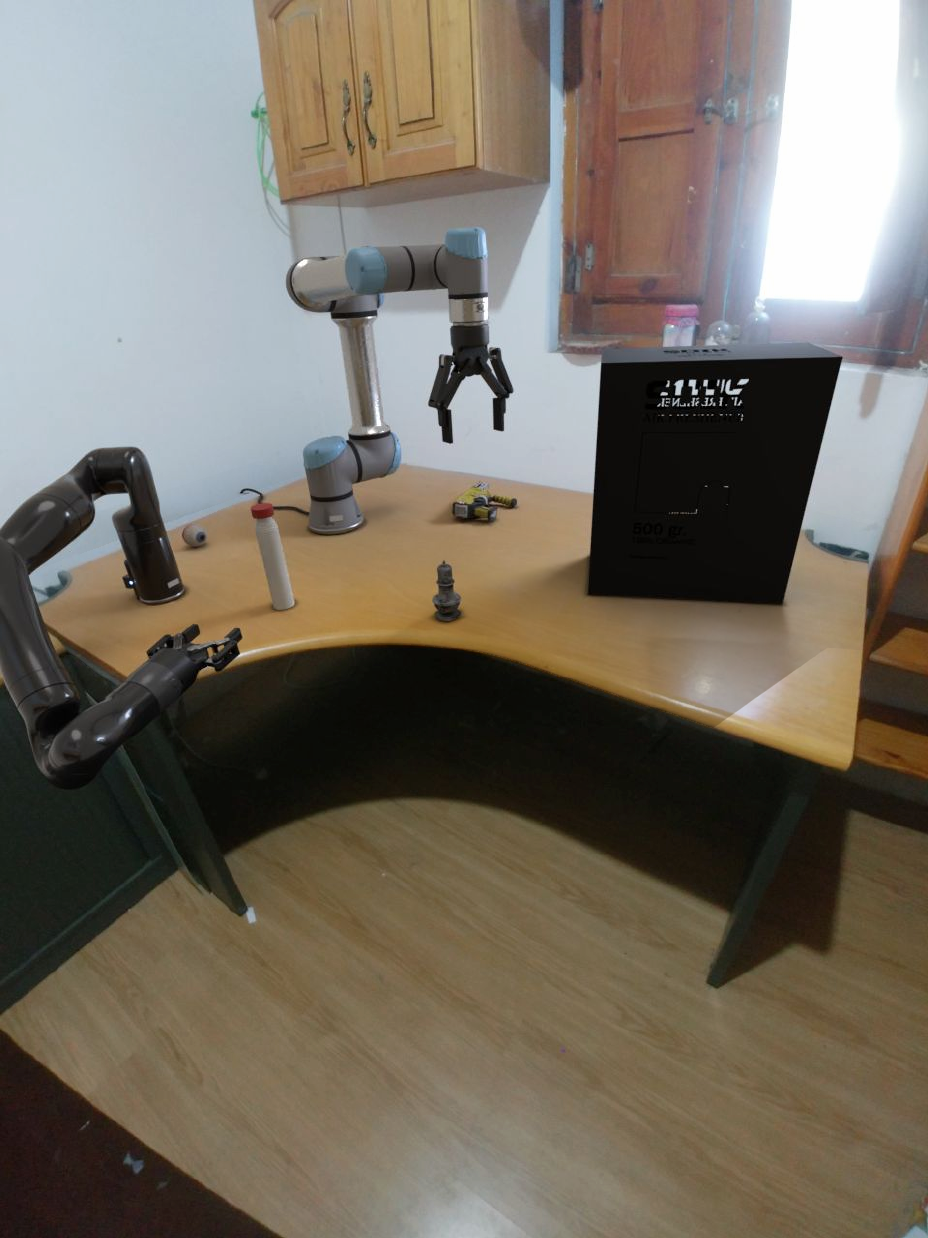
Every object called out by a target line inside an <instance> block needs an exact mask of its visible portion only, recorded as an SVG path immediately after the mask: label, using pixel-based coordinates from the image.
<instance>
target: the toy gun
mask: <svg viewBox="0 0 928 1238" xmlns="http://www.w3.org/2000/svg"><path fill="white" fill-rule="evenodd" d="M489 485H490V484H489V482H487V481H484V482H483V481H482V480H480V481H478V483H476V484H475V485H474V486H473V485H472V486H471V487H470V488H469V489H468V490H466V491H465V492H464V493H463V494H462V495H460V497H458V498H457V499H456V500H454V502H453V503H452V504H451V515H452V516H453V517H456V518H457V519H460V520H463V519H471V518H476V517H481V518H484V519H487V522H488V523H490V522H492V521H494V520H496V519H497V515H498V514H497V513H498V506H495V505H494V506H492V507H491V506H490V505H489V504H490V503H492V502H493V503H495V504H496V503H498V504H501V505H505V506H509V507H512V508H515V507H516V506H517V505H518V499H517V498H516V497H509V496H504V495H499V494H497V493H496V494H494V495H491V493H490V492H489V490H487V489H488V488H489Z"/></svg>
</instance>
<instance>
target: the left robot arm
mask: <svg viewBox="0 0 928 1238" xmlns="http://www.w3.org/2000/svg"><path fill="white" fill-rule="evenodd" d="M125 494H128V498H129V503H130V504H129V505H126V506H124V507H121V508H120V509H118V510H116V511H115V512H114V513H113V514H112V515H111V521H112V524H113V526H114V530H115V532H116V534H117V537H118V540H119V543H120V545H121V549H122V551H123V554H124V556H125V559H124V560H123V565H124V568H125V570H126V574H124V576H123V575H122V578H121V579H122V582H123V584H124V587H125V589H128V590H133V592H134V594H135V598H136V600H137V601H140V602H141V603H143V604H145V605H161V604H165V603H169V602H172V601H174V600H177V599H178V598H181V596H183V595H184V594H185V592H186V587H185V584H184V583H183V580H182V576H181V573H180V570H179V567H178V564H177V560H176V557H175V554H174V551H173V548H172V545H171V541H170V539H169V536H168V533H167V530H166V526H165V523H164V519H163V517H162V514H161V505H160V499H159V495H158V491H157V489H156V485H155V481H154V477H153V473H152V469H151V466H150V463H149V460H148V458H147V456H146V454H145V453H144V451H142V449H140V448H139V447H137V446H130V445H129V446H128V445H127V446H109V447H108V446H107V447H97V448H95V449H91V450H90V451H89V452H87V453H86V454H85V455H84V456H83V457H82V458H80V459H79V461H78V462H77V463H76V464H75V465H74V466H73V467H71V469H70V470H69V471H67V472H65V474H63V475H62V476H60V477H59V478H57V479H56V480H54V481H53V482H51V483H50V484H48V485H47V486H45V487H43V488H42V489H40V490H39V491H37V492H36V493H34V494H33V495H31V496H30V497H29V498H27V499H26V500H25V501H23V502H22V503H21V504H20V505H19V506H18V507H17V508H16V509H15V511H13V513H12V514H11V515H10V516H9V518H7V519H6V521H5V522H4V523H3V524H2V526H1V527H0V673H1V677H2V680H3V682H4V684H5V687H6V690H7V691H8V693H9V695H10V697H11V699H12V701H13V703H14V705H15V707H16V709H17V711H18V712H19V714H20V715H21V717H22V719H23V721H24V724H25V727H26V732H27V737H28V740H29V744H30V747H31V751H32V755H33V757H34V761H35V763H36V766H37V768H38V770H39V772H40V774H41V775H42V777H43V778H44V779H45V780H46V781H47V782H48V783H49V784H51V785H52V786H53V787H55V788H58V789H60V790H66V791H73V790H78V789H81V788H83V787H85V786H88V785H89V784H90V783H91V782H92V781H93V780H95V778H96V777H98V774H99V773H100V772H101V770H102V769H103V768H104V766H105V764H106V763H107V761H108V760H109V759H110V758H111V756H113V754H114V753H115V752H116V751H117V750H118V749H119V748H120V747H121V746H122V745H123V744H124V743H125V742H126V741H127V740H128V739H131V738H134V737H135V736H137V735H138V734H140V732H141V731H143V730H144V729H145V728H146V727H147V726H148V725H149V724H151V722H152V721H154V720H155V718H156V717H158V716H159V715H160V714H162V713H163V712H165V711H166V710H167V709H168V708H170V707H171V706H172V705H173V704H174V703H175V702H176V701H177V700H178V699H179V698H180V697H181V696H182V695H183V694H184V693H185V692H186V691H187V690H188V689H190V688H191V687H192V686H193V684H195V682H196V681H197V678H198V676H199V673H200V672H201V671H202V670H204V669H206V668H208V667H210V668H214V671H215V673H219V672H222V671H223V670H224V669H226V667H227V666H229V665H230V664H231V663H232V662H233V661H234V660H236V659H237V658H238V657H239V656H240V655H241V651H240V649H239V646H238V644H239V643H240V642H241V641H242V640H243V634H242V631H241V628H240V627H234V628H233V629H232V630H231V631H229V632H228V633H227V634H226V635H225V636H224V637H223V638H222V639H219V640H208V641H206V642H203V643H193V641H194V640H195V639H197V638H198V637H199V636H200V635H201V630H200V626H199V624H198V623H193V624H191V625H190V626H188V627H187V628H185V629H184V630H183V631H182V632H178V633H176V634H174V635H173V636H172V635H171V634H170V633H168V634H164V635H163V636H162V637H161V638H160V639H159V640H157V641H156V642H155V643H154V644H153V645H152V646H150V647H149V648H148V649H147V650H146V651H145V652H146V655H147V658H148V659H147V660H146V661H144V662H143V663H142V664H140V665H139V667H137V668H136V669H135V670H133V671H132V672H131V673H130V674H128V676H127V677H126V678H125V679H124V681H123V682H121V683H120V684H119V685H118V686H117V687H115V688H114V689H113V690H112V691H111V692H109V693H108V694H107V695H106V696H105V697H103V698H102V699H101V701H99V702H98V703H95V704H94V705H92V706H90V707H89V708H87V709H85V710H82V711H81V712H80V709H81V706H82V701H81V700H82V699H81V696H80V693H79V691H78V689H77V687H76V685H75V683H74V681H73V680H72V678H71V676H70V673H68V670H67V669H66V667H65V665H64V663H63V661H62V660H61V657H60V656H59V654H58V652H57V650H56V648H55V645H54V644H53V641H52V639H51V636H50V634H49V631H48V629H47V627H46V624H45V621H44V618H43V615H42V612H41V610H40V606H39V603H38V601H37V598H36V595H35V592H34V589H33V585H32V582H31V578H30V576H31V574H32V573H33V572H34V571H36V570H37V569H38V568H40V567H41V566H42V565H44V564H45V563H47V562H48V561H50V560H51V559H52V558H54V557H55V556H56V555H57V554H59V553H60V552H61V551H63V550H64V549H65V548H67V547H68V546H69V545H70V544H71V543H73V542H74V541H76V540H77V539H78V538H79V537H80V536H81V535H82V534H83V533H85V532H86V531H87V530H88V529H89V528H90V527H91V525H92V524H93V522H94V520H95V518H96V505H95V501H98V499H100V498H102V497H104V496H109V495H125ZM222 646H223V647H222ZM219 647H222V648H221V649H220V650H219V649H218V648H219ZM209 648H211V652H212V655H211V656H210V653H209V650H208V649H209Z"/></svg>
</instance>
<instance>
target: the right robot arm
mask: <svg viewBox="0 0 928 1238" xmlns="http://www.w3.org/2000/svg"><path fill="white" fill-rule="evenodd" d="M485 231H486V230H484V229H483V228H481V227H459V228H458V227H457V228H450V229H448V230H447V231H445V234H444V243H440V244H439V243H438V244H437V243H436V244H419V245H418V244H417V245H399V246H398V245H397V246H396V245H395V246H371V245H364V246H361V247H353V248H351V249H349V251H348V252H347V253H346V254H343V255H330V256H329V255H328V256H326V255H325V256H309V257H304V258H301V259H299V260H297V261H295V262H294V263H292V264H291V265H290V267H289V268H288V271H287V272H286V276H285V288H286V292H287V293H288V296H289V297H290V299H291V300H292V301H293V302H294V304H295V305H296V306H298V307H299V308H301V309H303V310H304V311H308V312H310V313H311V312H312V313H318V314H319V313H320V314H321V313H330V320H331V321H332V322H333V323H334V324H335V325H336V326H337V327H338V332H339V333H338V334H339V339H340V347H341V355H342V361H343V369H344V375H345V381H346V389H347V396H348V403H349V410H350V416H351V417H350V418H351V426H349V428H348V430H347V435H348V439H345V437H343V436H341V435H332V436H325V437H321V438H318V439H315V440H312V441H311V442H309V443H308V444H306V445H305V446H304V448H303V450H302V457H303V459H302V460H303V467H304V471H305V476H306V481H307V486H308V492H309V498H310V507H309V511H307V510H303V509H301V508H300V507H298V506H291V505H279V506H278V505H277V506H275V505H273V510H280V509H281V510H286V509H287V510H295V511H298V512H299V513H301V514H304V515H308V523H307V524H308V528H309V529H308V530H310V531H311V532H312V533H314V534H317V535H323V536H324V535H325V536H327V535H329V536H331V535H339V534H340V535H341V534H345V533H350V532H353V531H355V530H357V529H359V528H361V527H362V526H363V525H364V523H365V519H364V514H363V512H362V510H361V508H360V505H359V504H358V501H357V500H356V498H355V495H354V489H353V485H356V484H359V483H363V482H368V481H372V480H375V479H382V478H383V479H384V478H385V477H387V476H391V475H394V474H395V473H396V472H397V471H398V469H399V468H400V466H401V462H402V445H401V443H400V439H399V437H398V436H397V435H396V433H395V432H394V431H391V426H390V425H388V423H386V422H385V418H384V409H383V402H382V393H381V392H382V391H381V385H380V384H381V383H380V376H379V366H378V358H377V349H376V341H375V331H374V324H375V322H376V320H377V319H378V317H379V314H378V309H379V308H381V307H382V306H383V305H384V303H385V295H386V294H390V293H400V292H401V293H402V292H403V293H404V292H405V293H406V292H419V291H436V290H447V296H448V297H447V298H448V299H447V300H448V319H449V320H448V321H449V323H450V324H452V325H451V326H450V328H449V335H450V346H451V348H452V354H451V355H450V354H442V353H441V354H439V356H438V369H437V371H436V374H435V378H434V381H433V385H432V388H431V392H430V395H429V399H428V402H427V406H428V407H429V408H433V409H435V410H436V411H437V422H438V423H437V424H438V426H439V427H441V442H443V443H446V444H450V445H451V444H454V433H453V414H452V409H449V407H450V404H451V403H452V401H453V399H454V397H455V395H456V394H457V392H458V390H459V387H460V386H461V384H462V381H464V380H466V378H467V377H468V378H469V377H470V378H471V377H473V376H481V378H482V379H483V380H484V382H485V383H486V384H487V386H488V387H489V388H490V390H491V392H492V393H493V394H494V395H495V397H493V398H492V427H493V428H492V430H494V431H497V432H505V414H506V413H507V400H508V399H510V396H511V395H512V394H513V393H514V392H515V391H514V390H515V389H514V387H513V384H512V382H511V381H512V380H511V379H510V377H509V374H508V371H507V369H506V367H505V366H506V365H505V364H504V361H503V357H502V349H501V347H495V346H490V347H489V348H488V345H489V344H490V326H489V324H488V323H486V322H487V321H488V320H490V318H489V315H490V314H489V274H488V269H489V268H488V256H489V252H488V247H487V246H488V245H487V234H486V232H485ZM488 361H489V362H490V365H491V367H490V365H489V364H488ZM452 366H453V368H452ZM493 372H494V373H493ZM510 394H511V395H510ZM244 492H252V493H255V494H257V495H258V496H259V497H258V499H257V502H258V504H260V503H263V502H262V499H263V497H264V494H263V493H262V492H260V491H258V490H257V489H254V488H248V487H246V488H243V489H241V490H240V492H239V494H243V493H244Z"/></svg>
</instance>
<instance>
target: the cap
mask: <svg viewBox="0 0 928 1238" xmlns="http://www.w3.org/2000/svg"><path fill="white" fill-rule="evenodd" d="M273 506H274V505H273V504H272V503H270V502H262V503H260V504H259V503H257V504H253V505H251V506H250V512H251V516H252V518H253V519H256V520H257V519H264V518H268V517H271V516H272V517H273V516H274V515H275V509H273Z"/></svg>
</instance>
